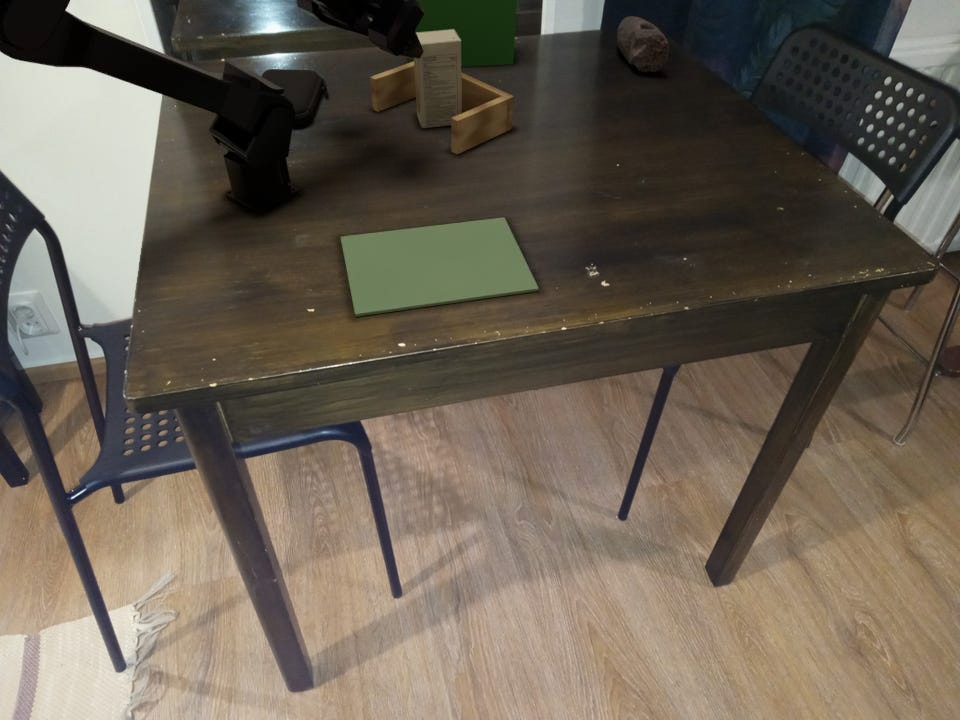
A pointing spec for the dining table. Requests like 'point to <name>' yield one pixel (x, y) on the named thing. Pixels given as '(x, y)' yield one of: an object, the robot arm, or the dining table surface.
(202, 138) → the dining table surface
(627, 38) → the perforated stone tool
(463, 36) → the hardback book
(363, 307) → the mat
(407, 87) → the frame
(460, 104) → the cosmetic box
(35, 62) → the robot arm
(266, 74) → the carrying case
